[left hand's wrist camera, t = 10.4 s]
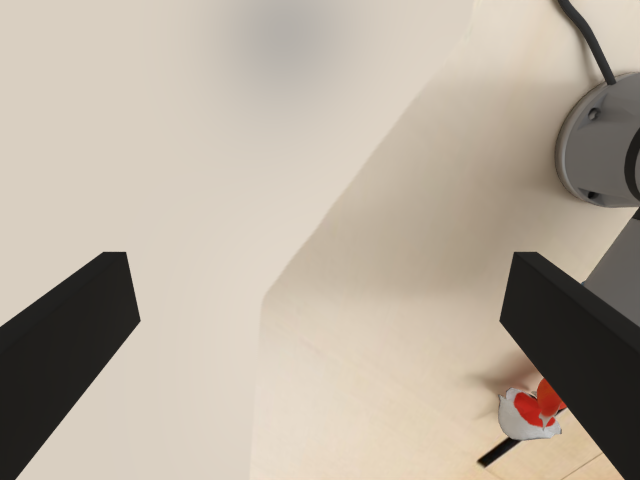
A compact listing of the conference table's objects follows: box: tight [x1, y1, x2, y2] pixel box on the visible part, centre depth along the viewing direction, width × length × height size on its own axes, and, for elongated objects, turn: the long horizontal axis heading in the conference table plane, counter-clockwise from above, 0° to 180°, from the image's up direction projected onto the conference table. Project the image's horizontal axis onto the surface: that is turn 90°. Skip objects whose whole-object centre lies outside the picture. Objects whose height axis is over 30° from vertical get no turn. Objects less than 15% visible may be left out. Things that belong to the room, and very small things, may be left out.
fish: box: [498, 378, 567, 440], centre depth 54 cm, size 11×16×10 cm
